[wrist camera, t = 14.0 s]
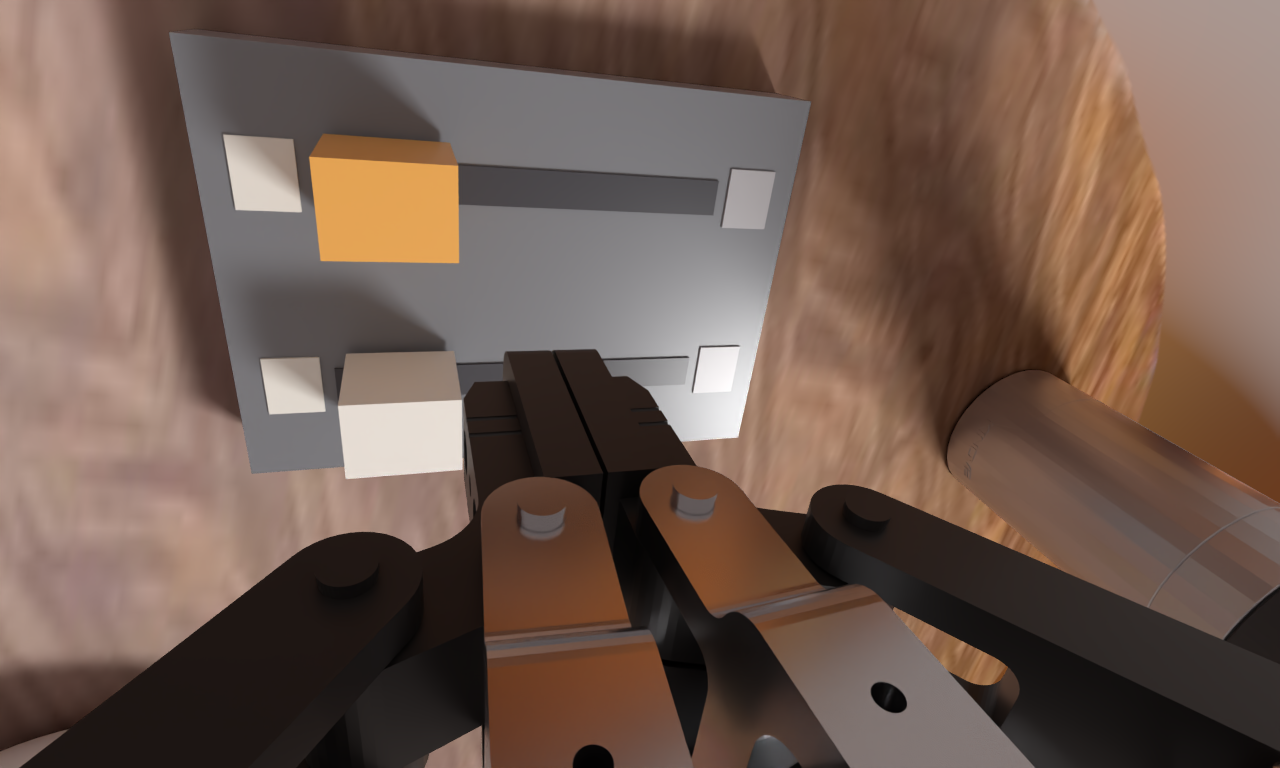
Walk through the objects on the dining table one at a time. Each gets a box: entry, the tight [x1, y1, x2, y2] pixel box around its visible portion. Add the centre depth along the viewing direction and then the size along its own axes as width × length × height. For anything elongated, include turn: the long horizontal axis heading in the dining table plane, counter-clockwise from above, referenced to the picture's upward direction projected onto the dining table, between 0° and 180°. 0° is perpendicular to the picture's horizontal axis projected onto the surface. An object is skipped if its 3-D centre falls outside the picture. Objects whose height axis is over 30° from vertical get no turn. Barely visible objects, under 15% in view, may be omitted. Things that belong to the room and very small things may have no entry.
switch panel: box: [169, 29, 811, 474], centre depth 28 cm, size 22×16×3 cm
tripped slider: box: [309, 134, 459, 263], centre depth 21 cm, size 4×3×4 cm
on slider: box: [338, 351, 462, 479], centre depth 25 cm, size 4×3×4 cm
